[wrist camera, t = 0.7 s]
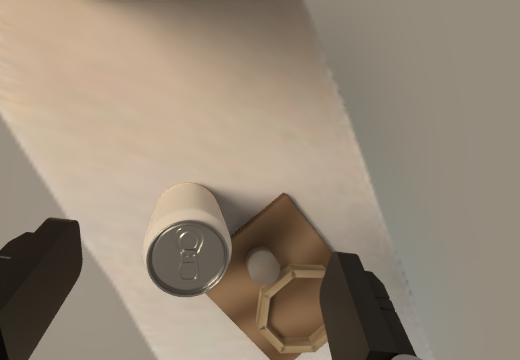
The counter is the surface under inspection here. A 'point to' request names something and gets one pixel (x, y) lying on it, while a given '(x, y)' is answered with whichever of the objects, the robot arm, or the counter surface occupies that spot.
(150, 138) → the counter surface
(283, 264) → the board
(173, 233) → the can
